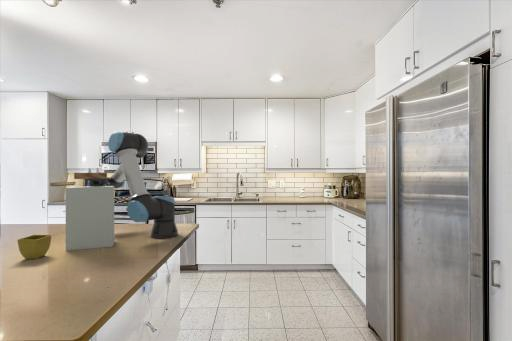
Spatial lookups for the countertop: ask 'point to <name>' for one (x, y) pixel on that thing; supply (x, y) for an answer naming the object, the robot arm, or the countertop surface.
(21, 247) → the flower pot
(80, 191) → the stand
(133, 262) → the countertop surface
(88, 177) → the T-bar
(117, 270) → the countertop surface
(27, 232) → the countertop surface
